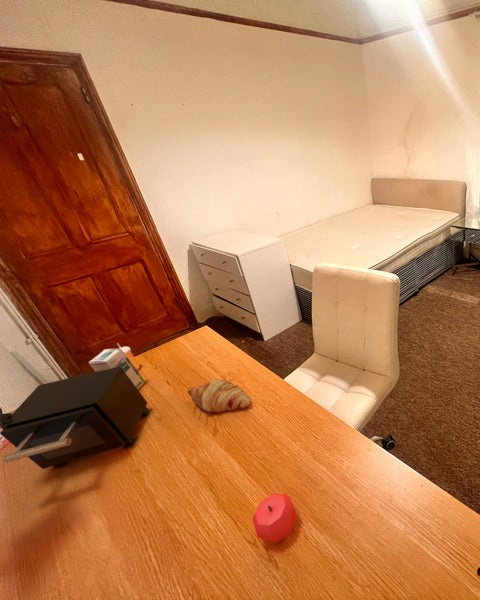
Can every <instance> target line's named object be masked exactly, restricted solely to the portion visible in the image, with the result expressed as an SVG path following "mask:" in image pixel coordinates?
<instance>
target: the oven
mask: <svg viewBox="0 0 480 600" xmlns="http://www.w3.org/2000/svg"><path fill="white" fill-rule="evenodd" d="M147 405H148V401H147V400H146V399H145V397H144V396H143V394H142V393H141V392H140V390H139V389H137V388H136V387H135V385H134V384H133V382H132V381H131V380H130V378H129V377H128V376H127V374H126V373H125V372H124V370H123V369H122V368H121V366H120V367H116V368H111V369H107V370H103V371H98V372H96V371H94V372H90V373H86V374H82V375H81V374H80V375H77V376H73V377H69V378H63V379H60V380H56V381H51V382H46V383H42V384H39V385H38V386H37V387H35V389H34V390H33V391H32V392H31V393H30V394H29V395H28V397H26V398H25V399H24V401H23V402H22V403H20V404H19V406H18V407H17V408H16V409H15V410H14V412H12V414H13V422H12V424H10V425H6V426H2V427H0V428H1V429H2V430H3V429H5V428H9V427H13V426H17V425H21V424H25V423H29V422H33V421H37V420H41V419H45V418H49V417H53V416H57V415H61V414H65V413H69V412H73V411H77V410H81V409H85V408H89V407H93V406H94V407H95V408H96V409H97V410H98V411H99V412H100V413H101V414H102V416H103V417H104V418H105V419H106V420H107V421H108V422H109V424H110V425H111V426H112V427H113V428H114V429H115V430H116V431H117V433H118V434H119V435H120V436H121V437H122V438H123V439H124V441H125V442H126V443H125V445H124V446H123V449H126V448H130V447H132V446H134V444H135V442H136V438H135V437H134V435H133V433H134V431H135V430H136V428H137V426H138V423H139V421H140V419H141V418H143V417H146V416H148V414H149V412H150V409H149V407H148V406H147ZM65 465H66V463H62V464H59V465H55V466H53V468H59V467H62V466H65Z"/></svg>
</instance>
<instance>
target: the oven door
mask: <svg viewBox="0 0 480 600" xmlns="http://www.w3.org/2000/svg"><path fill="white" fill-rule="evenodd" d="M0 435H1V436H2V437H3V438H4V439H6V440H7V441H8V442H9V443H10V444H12V446H14V447H15V449H14V450H13V452H9V453H7V454H4V455H3V456H2V458H1V460H2V462H3V463H9V462H13V461H16V460H20V459H25V458H28V459H29V460H31V461H32V462H33V463H35V465H37V466H38V467H39V468H41V469H42V470H44V469H48V468H52V467H54V466H55V465H59V464H62V463H65V464H66V463H70V462H72V461H77V460H80V459H84V458H87V457H90V456H94V455H99V454H101V453H105V452H108V451H112V450H115V449H120V448H122V447H123V446H124V445H125V443H126V442H125V441H124V439H123V438H122V437H121V436H120V435H119V434H118V433H117V431H116V430H115V429H114V428H113V427H112V426H111V425H110V424H109V422H108V421H107V420H106V419H105V418H104V417H103V416H102V414H101V413H100V412H99V411H98V410H97V409H96V408H95V407H94V406H93V407H89V408H85V409H81V410H77V411H73V412H69V413H65V414H61V415H57V416H53V417H49V418H45V419H41V420H37V421H33V422H29V423H25V424H21V425H17V426H13V427H9V428H5V429H2V430H1V431H0ZM123 448H124V447H123Z"/></svg>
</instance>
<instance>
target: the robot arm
mask: <svg viewBox="0 0 480 600" xmlns="http://www.w3.org/2000/svg"><path fill="white" fill-rule="evenodd" d="M12 422H13V412H6V413H3V408H2V407H0V428H1V427H2V426H6V425H10V424H12Z"/></svg>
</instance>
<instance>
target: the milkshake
mask: <svg viewBox="0 0 480 600" xmlns="http://www.w3.org/2000/svg"><path fill="white" fill-rule="evenodd" d="M116 345H117V346H118V349H122V350H123V352H124V353H125V354H126V356H127V357H128V359H129V360H130V361H131V363H132V364H133V365H134V367H135V368H136V369H137V371H139V370H140V368H141V367H140V364H139V363H138V361H137V359H136V357H135V355H134V353H133V351H132V349H131V348H130V346H121V345H120V343H119V342H117V343H116Z"/></svg>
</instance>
